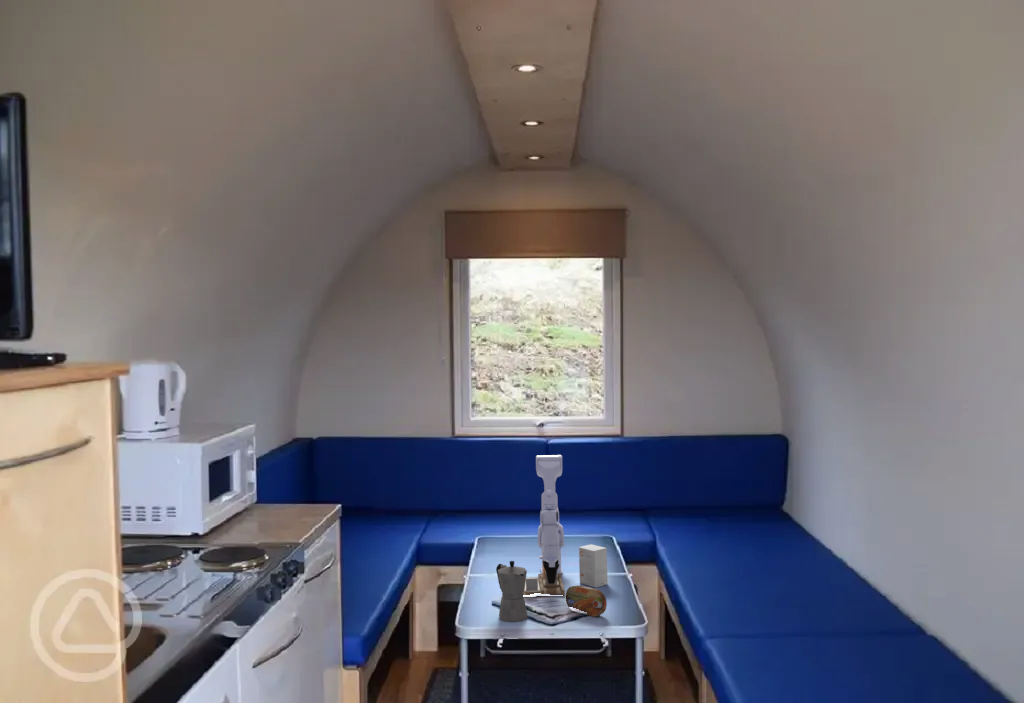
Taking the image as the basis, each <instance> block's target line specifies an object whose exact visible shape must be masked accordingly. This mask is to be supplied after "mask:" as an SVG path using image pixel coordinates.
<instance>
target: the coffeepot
mask: <svg viewBox="0 0 1024 703" xmlns="http://www.w3.org/2000/svg"><path fill="white" fill-rule="evenodd" d="M495 570H496V575H497V579H498V580H497V581H498V584H499V585H498V586H499V589H500V591H501V594H502V596H501V598H500V605H499V613H498V617H499V619H500V620H501V621H503V622H507V623H517V622H523V621H525V620H526V619H527V618H528V612H527V606H526V600H525V598H524V597H523V592H524V590H525V582H526V577H527V572H528V570H527V569H526V568H525V567H521V566H515V561H514V560H510V561H509V566H507V565H506V564H502V563H499V564H497V566H496V569H495Z"/></svg>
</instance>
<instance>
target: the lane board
mask: <svg viewBox="0 0 1024 703" xmlns="http://www.w3.org/2000/svg"><path fill="white" fill-rule="evenodd" d="M536 577H537V578H538V582H539V587H540V592H526V593H524V592H523V595H530V594H534V593H541V594H550V595H563V596H562V597H566V591H565V586H564V583H563V578H562V574H560V573H558V574H557V578H558V582H559V586H553V587H544V586H543V580H542V575H541V573H538V574H537V576H536Z"/></svg>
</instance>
